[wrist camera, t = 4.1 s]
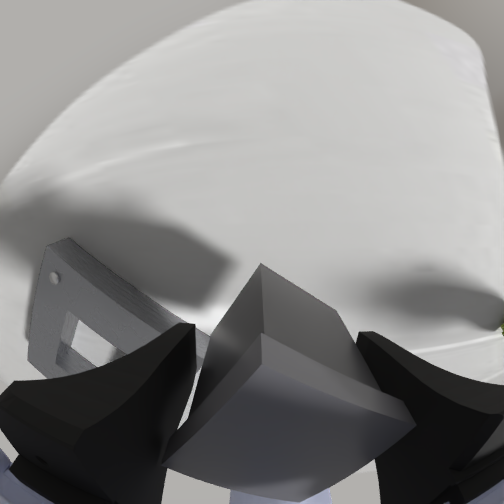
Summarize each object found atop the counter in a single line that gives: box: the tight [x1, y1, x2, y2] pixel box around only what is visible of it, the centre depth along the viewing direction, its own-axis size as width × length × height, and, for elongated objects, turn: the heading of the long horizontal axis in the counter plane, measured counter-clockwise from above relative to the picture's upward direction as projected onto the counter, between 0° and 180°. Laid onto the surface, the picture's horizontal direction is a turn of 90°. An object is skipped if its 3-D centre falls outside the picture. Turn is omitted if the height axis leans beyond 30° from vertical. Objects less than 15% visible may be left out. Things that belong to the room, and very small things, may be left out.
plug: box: [161, 263, 416, 503], centre depth 8 cm, size 5×5×7 cm
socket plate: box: [27, 238, 210, 379], centre depth 16 cm, size 12×12×3 cm
